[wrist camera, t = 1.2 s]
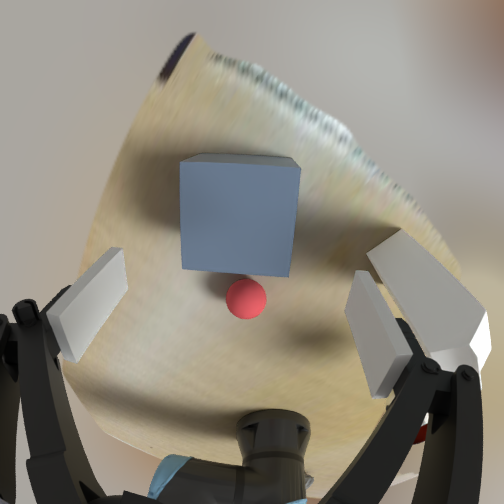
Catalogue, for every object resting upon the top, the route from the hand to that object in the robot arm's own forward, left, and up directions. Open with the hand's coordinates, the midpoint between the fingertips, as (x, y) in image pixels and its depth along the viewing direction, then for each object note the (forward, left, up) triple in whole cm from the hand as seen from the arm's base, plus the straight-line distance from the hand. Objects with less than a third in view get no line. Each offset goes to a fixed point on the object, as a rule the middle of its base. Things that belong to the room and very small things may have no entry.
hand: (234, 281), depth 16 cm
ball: (-12, 0, -17) cm, 21 cm away
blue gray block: (0, +1, -19) cm, 19 cm away
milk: (-6, -19, -20) cm, 28 cm away
